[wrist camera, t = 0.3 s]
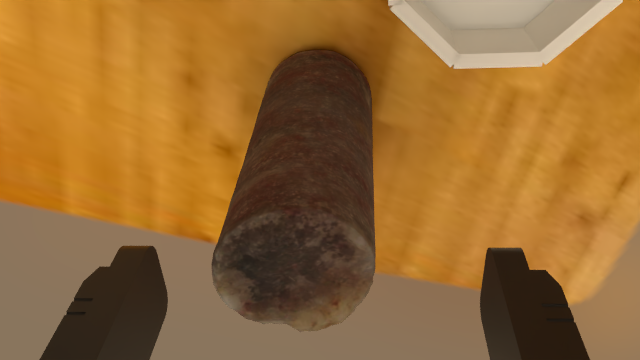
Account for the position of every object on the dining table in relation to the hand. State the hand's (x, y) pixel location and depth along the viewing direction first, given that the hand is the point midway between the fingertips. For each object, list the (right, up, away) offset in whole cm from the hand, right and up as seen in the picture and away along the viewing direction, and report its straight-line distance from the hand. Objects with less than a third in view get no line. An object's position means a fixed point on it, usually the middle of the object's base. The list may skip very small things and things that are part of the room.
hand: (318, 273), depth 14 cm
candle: (0, +9, +28) cm, 29 cm away
